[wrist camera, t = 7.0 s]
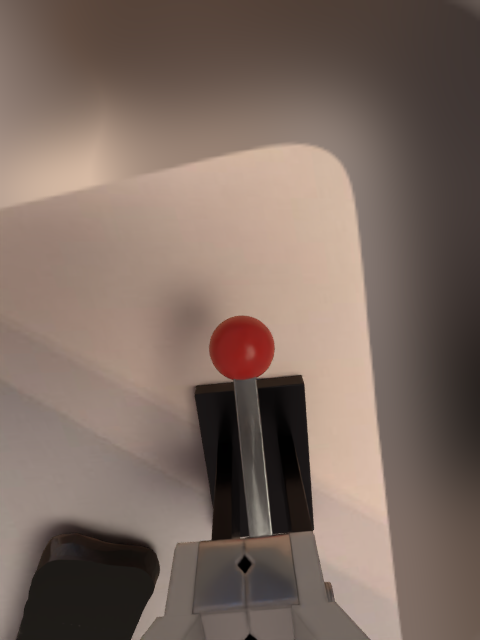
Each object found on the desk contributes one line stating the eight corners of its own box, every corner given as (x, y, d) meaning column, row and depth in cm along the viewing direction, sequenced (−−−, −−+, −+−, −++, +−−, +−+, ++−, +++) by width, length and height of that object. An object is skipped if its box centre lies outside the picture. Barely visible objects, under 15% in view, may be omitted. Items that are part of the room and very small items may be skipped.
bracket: (196, 385, 29) (167, 545, 17) (301, 374, 28) (350, 528, 16) (218, 526, 33) (208, 738, 21) (311, 517, 32) (356, 726, 20)
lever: (209, 321, 23) (202, 316, 20) (269, 315, 23) (272, 308, 20) (238, 618, 22) (235, 664, 18) (302, 613, 22) (310, 657, 18)
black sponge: (59, 509, 32) (38, 551, 28) (169, 540, 33) (161, 584, 29) (15, 651, 37) (-8, 701, 33) (111, 674, 38) (99, 725, 35)
